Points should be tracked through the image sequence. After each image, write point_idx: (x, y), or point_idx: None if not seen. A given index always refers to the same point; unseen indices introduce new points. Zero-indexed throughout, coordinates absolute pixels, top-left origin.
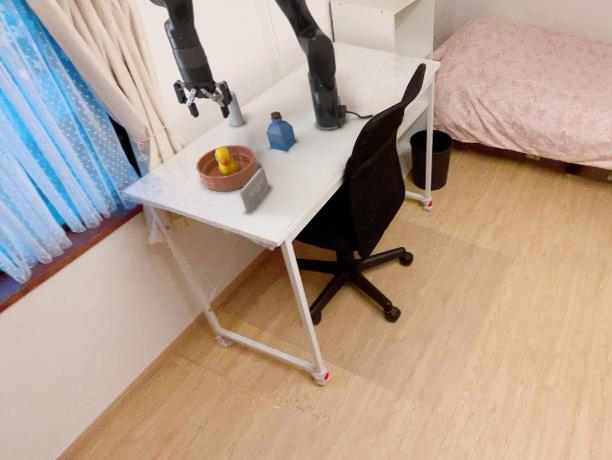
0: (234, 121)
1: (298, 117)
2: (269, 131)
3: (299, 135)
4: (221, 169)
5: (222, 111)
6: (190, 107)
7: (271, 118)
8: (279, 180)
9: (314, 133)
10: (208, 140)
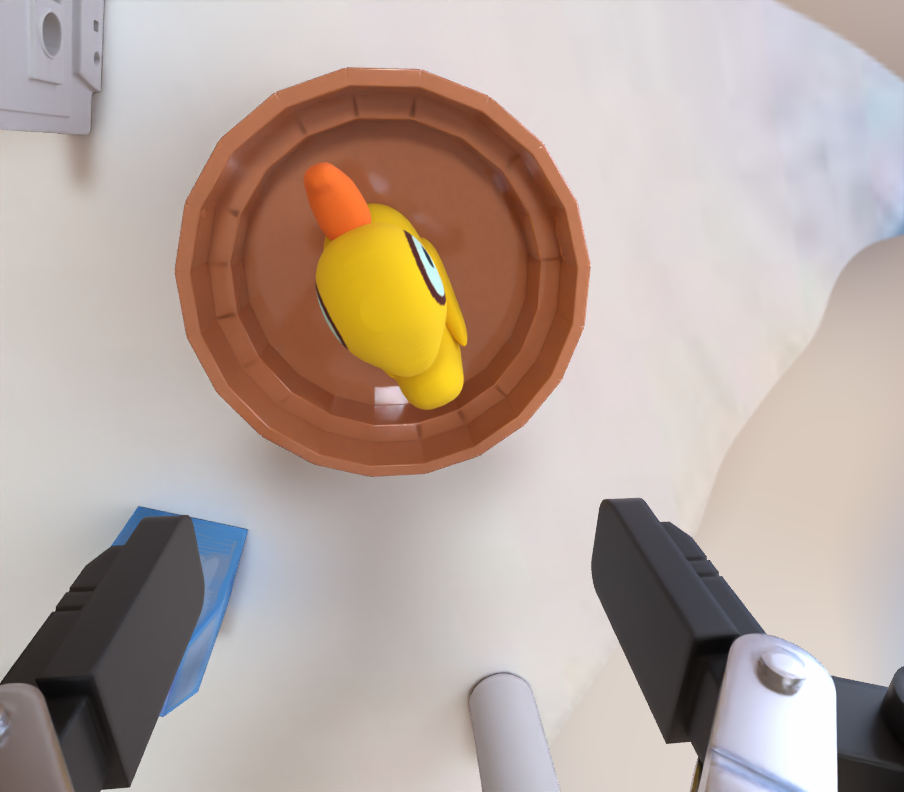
0: (504, 698)
1: (208, 764)
2: None
3: None
4: (405, 222)
5: (120, 597)
6: (719, 617)
7: None
8: (40, 218)
9: None
10: None
